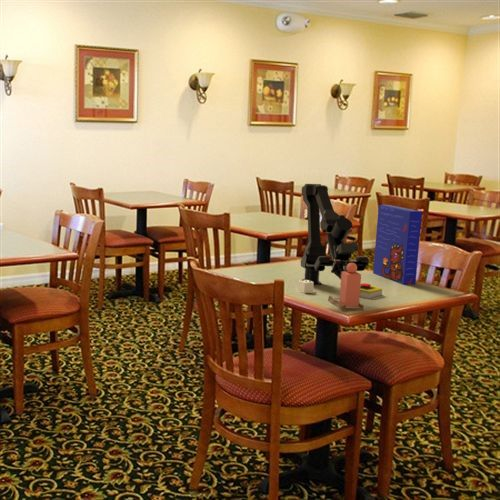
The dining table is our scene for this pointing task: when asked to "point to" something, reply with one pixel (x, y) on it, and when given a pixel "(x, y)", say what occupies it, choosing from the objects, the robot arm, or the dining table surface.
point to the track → (342, 307)
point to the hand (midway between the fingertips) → (347, 284)
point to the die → (305, 286)
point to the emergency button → (370, 291)
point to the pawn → (350, 286)
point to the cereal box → (397, 243)
